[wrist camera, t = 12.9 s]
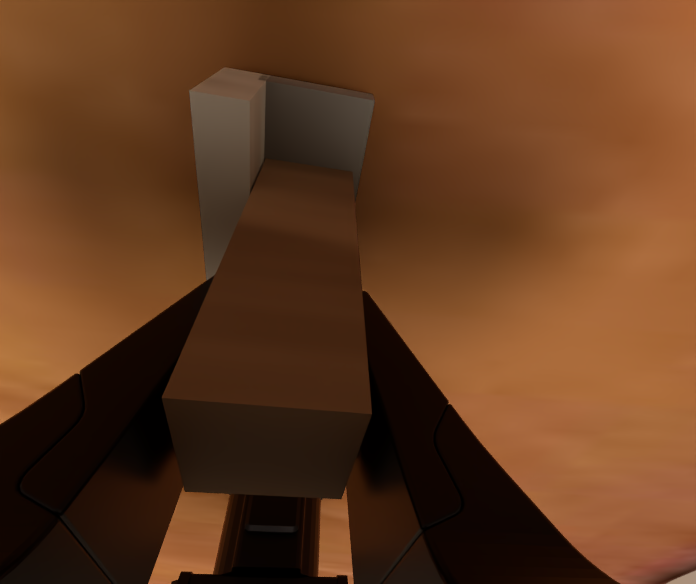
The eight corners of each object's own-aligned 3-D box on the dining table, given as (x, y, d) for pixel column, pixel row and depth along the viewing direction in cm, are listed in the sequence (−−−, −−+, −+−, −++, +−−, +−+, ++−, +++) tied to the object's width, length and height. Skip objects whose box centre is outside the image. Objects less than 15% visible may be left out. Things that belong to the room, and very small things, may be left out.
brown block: (338, 277, 14) (338, 541, 7) (231, 264, 14) (126, 533, 7) (372, 94, 10) (440, 297, 3) (224, 67, 10) (-39, 240, 3)
